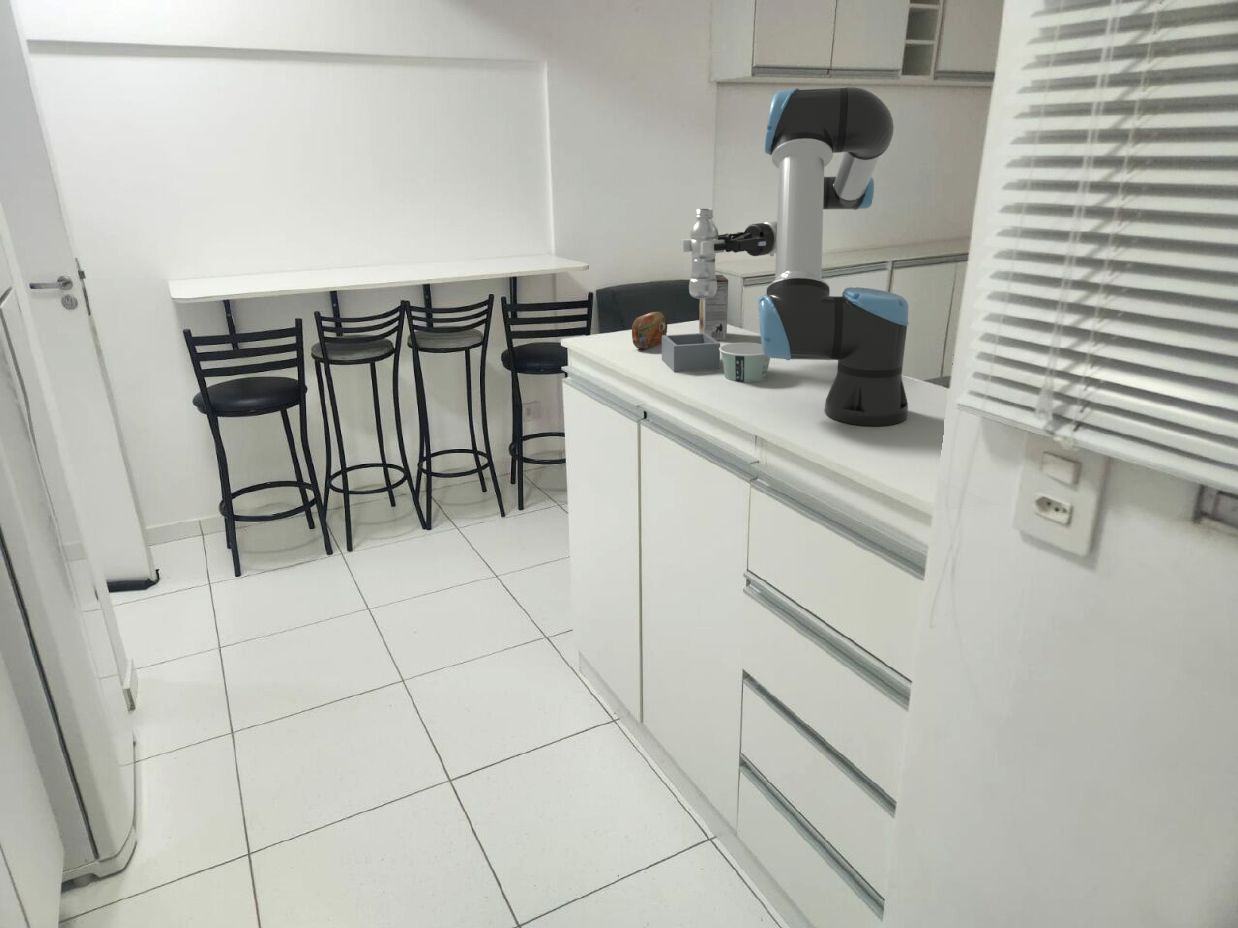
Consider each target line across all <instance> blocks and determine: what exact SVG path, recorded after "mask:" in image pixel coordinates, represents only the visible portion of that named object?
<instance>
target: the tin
mask: <svg viewBox="0 0 1238 928" xmlns="http://www.w3.org/2000/svg"><path fill="white" fill-rule="evenodd" d="M667 333H668V321H667V318H666V315H665V313H664V312H662V311H652V312H648V313H646V314H643V315H641V316H637V317H636V318H635V319H634V321H633V323H632V326H631V337H632V338H631V339H632V343H633V345H634V347H635V348H636V349H640V350H649V349H652V348H653V347H655V346H658V345H661V344H662V335H668V334H667Z"/></svg>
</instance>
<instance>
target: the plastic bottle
mask: <svg viewBox="0 0 1238 928" xmlns="http://www.w3.org/2000/svg"><path fill="white" fill-rule="evenodd" d="M695 212H696V213H695V214H696V215H695V218H696V221H695V223H694V224H693V226H692V228H691V230H690V233H689V236H690V237H689V239H690V240H691V248H692V251H691V271H690V272H691V273H690V279H689V283H688V290H689V294H690V296H691V298H695V299H699V300H700V299H707V298H711V297H714V296H715V294H716V291H717V281H716V275H717V274H716V273H717V272H716V254H717V253H713V254H705V255H701V254H700V253H701V242H705V241H715V240H718V235H719V231H718V228H717V226H716V224H715V223H714V222H713V220H712V219H713V218H714V215H713V208H698V209H696V211H695Z"/></svg>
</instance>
